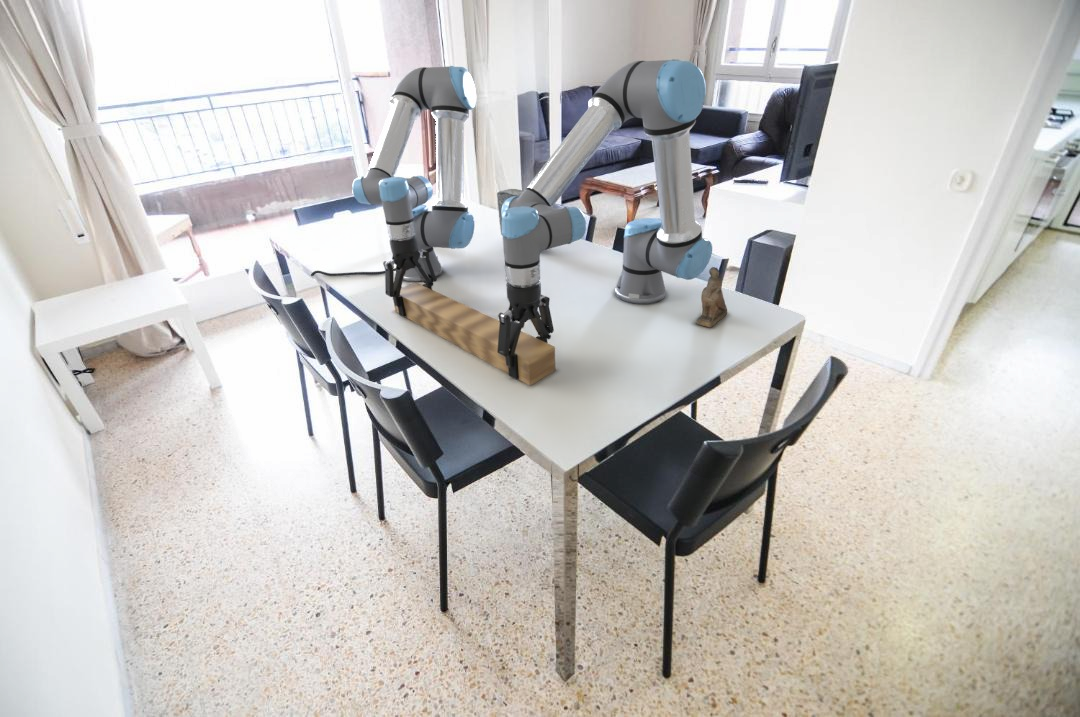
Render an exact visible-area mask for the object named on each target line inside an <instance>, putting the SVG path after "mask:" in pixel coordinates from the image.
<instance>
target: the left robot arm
mask: <svg viewBox="0 0 1080 717" xmlns="http://www.w3.org/2000/svg"><path fill="white" fill-rule="evenodd" d="M476 104H477V92H476V85H475V83H474V79H473V77H472V75H471V73H470V72H469V70H468V69H466V68H465V67H464V66H454V65H449V66H433V67H432V66H431V67H430V66H429V67H425V66H423V67H417V68H415V69H412V70H411V71H410V72H408V73H407V74H406V75H405V76H404V77H402V79H401V80H400V81H399V82H398V84H397V85H396V86H395V88H394V90H393V91H392V94H391V96H390V100H389V105H390V110H389V111H388V112H389V113H388V115H387V118H386V120H385V123H384V126H383V129H382V132H381V134H380V136H379V140H378V142H377V145H376V147H375V150H374V153H373V156H372V158H371V161H370V164H369V167H368V169H367V172H366V174H365V176H358V177H356V178H355V179H353V182H352V188H351V189H352V194H353V197H354V199H355V200H356V201H357V202H358V203H360V204H362V205H368V206H369V205H370V206H374V205H375V206H376V205H377V206H382V209H383V214H384V219H385V225H386V226H385V227H386V232H387V237H388V238H389V246H390V251H391V253H392V254H391V255H392V257H391V259H389V260H388V261H386V260H385V261H383V262H382V264H383V267H384V270H381V271H356V272H355V271H352V272H351V271H350V272H338V273H337V272H336V273H335V272H334V273H331V272H326V271H322V270H314V271H312V272H311V274H310V276H311V277H314V276H315V275H316V274H320V275H323V276H328V277H343V276H344V277H345V276H357V275H358V276H360V275H363V276H364V275H365V276H366V275H368V276H369V275H384V276H385V278H384V280H385V282H384V283H385V285H384V286H385V289H384V290H385V291H384V292H385V295H386V296H388V297H390V298H392V300H393V299H394V302H393V305H394V304H395V306H397V307H398V311H399V313H398V315H399V316H401V317H403V318H406V312H405V307H404V302H403V297H402V296H401V295H400V291H401V287H403V286H402V285H403V281H406V282H413V283H415V282H423V283H422V285H423V286H425V287H427V288H429V289H431V290H433V286H434V282H437V278H438V277H439V276H440V275H441V274H442V273H443V268H442V264H441V263H440V260H439V257H438V255H437V254H436V252H435V250H434V248H441V249H442V248H443V249H451V250H455V249H465V248H467V247H468V246H469V245H470V243H471V241H472V239H473V237H474V234H475V233H474V232H475V220H474V219H475V218H474V215H473V214H472V213H471V212H470V211H469V207H468V206H467V205H468V204H466V203H465V201H464V174H465V172H464V170H465V168H464V159H465V152H464V151H465V122H466V121H467V120H468V119H469V118H470V111H471V110H473V109H474V108H475V107H476ZM427 110H428V111H429V110H430V114H431V115H432V117H433V118H434V119H435V121H436V122H435V124H436V125H435V134H436V136H435V137H436V138H435V140H436V141H435V142H436V144H435V145H436V146H435V147H436V150H435V151H436V152H435V154H436V155H435V157H436V200H435V201H434V202H433V204H431V210H429V208H428V206H427V205H426V203H427V202H429V200H430V199H431V198H432V197H433V193H434V188H433V185H432V183H431V182H430V180H429V179H428V178H427V177H426V176H423V175H416V176H415V175H414V176H412V177H408V178H407V177H406V178H405V177H403V176H396V175H397V171H398V169H399V166H400V163H401V160H402V158H403V155H404V152H405V149H406V146H407V143H408V142H409V138H410V135H411V133H412V129H413V126H414V124H415V121H417V120H419V119H420V117H421V114H422V113H423V112H424V111H427ZM394 265H395V266H394ZM394 273H395V275H394Z"/></svg>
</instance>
